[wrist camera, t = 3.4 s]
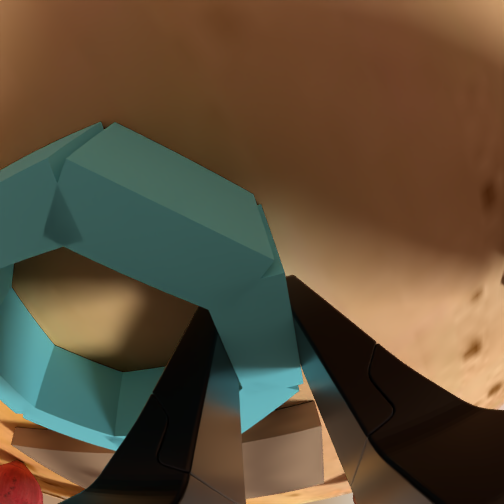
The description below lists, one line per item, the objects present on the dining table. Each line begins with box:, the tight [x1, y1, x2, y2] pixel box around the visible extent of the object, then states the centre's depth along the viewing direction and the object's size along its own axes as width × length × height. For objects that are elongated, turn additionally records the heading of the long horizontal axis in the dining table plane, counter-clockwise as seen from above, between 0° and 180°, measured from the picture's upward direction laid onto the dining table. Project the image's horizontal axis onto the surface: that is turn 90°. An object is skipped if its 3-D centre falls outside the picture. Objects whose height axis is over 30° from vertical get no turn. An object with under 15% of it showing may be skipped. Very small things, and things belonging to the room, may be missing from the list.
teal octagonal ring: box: [0, 122, 303, 451], centre depth 8 cm, size 11×11×3 cm
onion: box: [0, 460, 43, 504], centre depth 16 cm, size 6×6×8 cm
